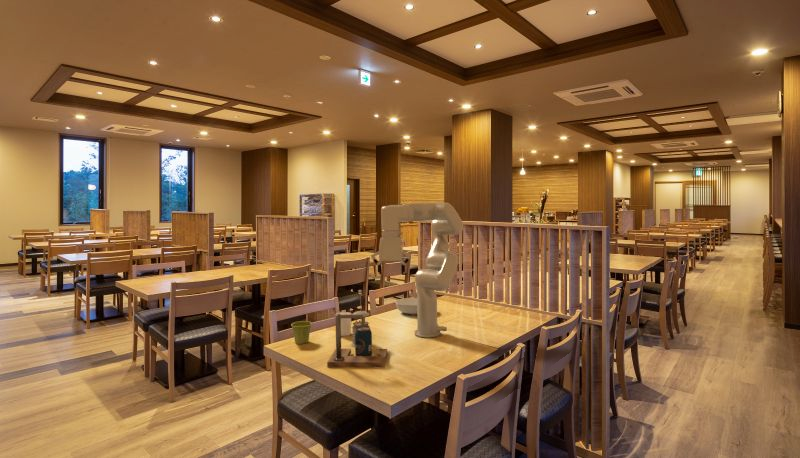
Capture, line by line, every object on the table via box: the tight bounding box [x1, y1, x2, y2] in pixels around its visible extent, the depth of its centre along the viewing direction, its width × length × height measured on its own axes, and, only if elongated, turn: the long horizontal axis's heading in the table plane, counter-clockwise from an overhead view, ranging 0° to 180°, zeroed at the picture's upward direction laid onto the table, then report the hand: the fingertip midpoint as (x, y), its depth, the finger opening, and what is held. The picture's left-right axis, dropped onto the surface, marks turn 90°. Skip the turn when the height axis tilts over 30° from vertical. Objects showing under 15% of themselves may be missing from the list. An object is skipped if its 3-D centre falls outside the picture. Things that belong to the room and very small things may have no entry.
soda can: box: [354, 327, 373, 356], centre depth 179 cm, size 7×7×12 cm
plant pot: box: [290, 320, 313, 345], centre depth 201 cm, size 9×9×9 cm
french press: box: [350, 289, 371, 349], centre depth 194 cm, size 10×12×25 cm
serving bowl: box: [395, 297, 417, 316], centre depth 253 cm, size 21×21×7 cm
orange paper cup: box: [335, 311, 352, 337], centre depth 212 cm, size 8×8×10 cm
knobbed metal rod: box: [334, 313, 366, 361], centre depth 171 cm, size 13×4×18 cm, turn 87°
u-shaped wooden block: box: [326, 348, 388, 368], centre depth 176 cm, size 22×16×2 cm
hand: (391, 274), depth 187 cm, fingers open, 9 cm apart
